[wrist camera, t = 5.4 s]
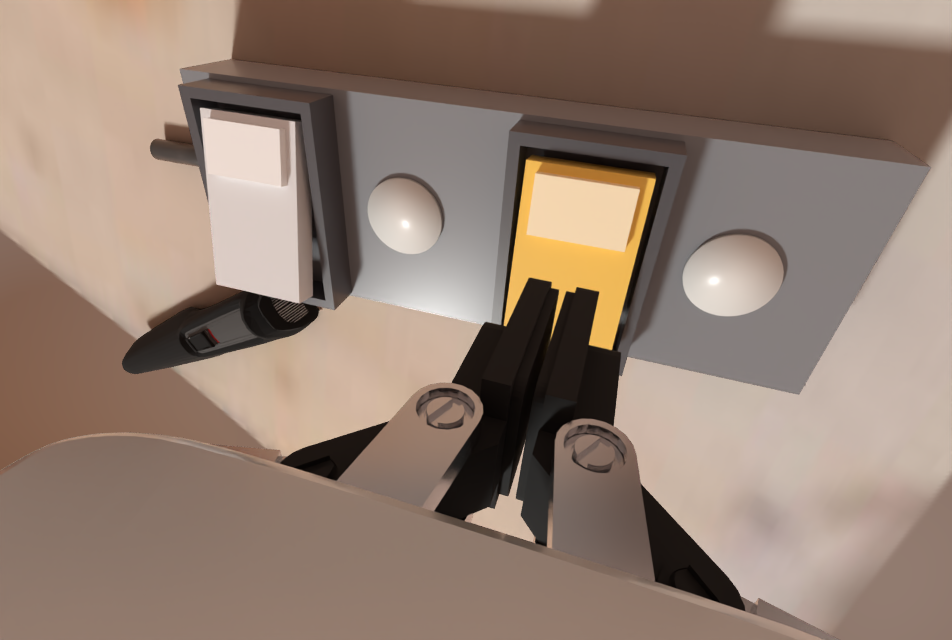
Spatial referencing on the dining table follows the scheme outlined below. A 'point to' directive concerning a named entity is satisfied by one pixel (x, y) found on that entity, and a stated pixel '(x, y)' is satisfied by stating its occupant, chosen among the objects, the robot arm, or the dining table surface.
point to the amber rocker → (580, 234)
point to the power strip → (590, 141)
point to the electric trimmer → (217, 331)
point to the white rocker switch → (259, 203)
